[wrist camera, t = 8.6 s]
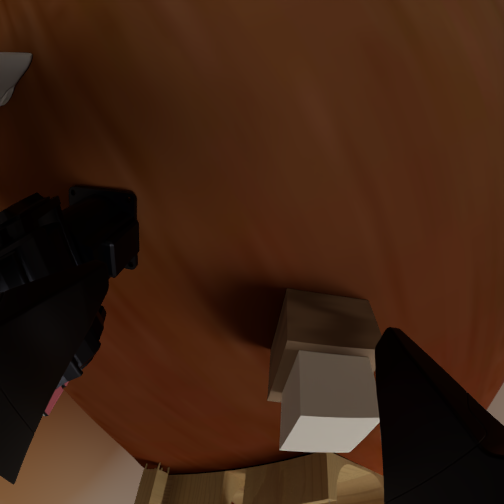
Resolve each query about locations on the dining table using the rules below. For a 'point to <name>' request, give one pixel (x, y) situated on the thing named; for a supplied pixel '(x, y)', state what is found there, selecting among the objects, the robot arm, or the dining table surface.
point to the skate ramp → (268, 484)
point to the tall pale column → (11, 72)
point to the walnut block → (319, 332)
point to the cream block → (328, 403)
